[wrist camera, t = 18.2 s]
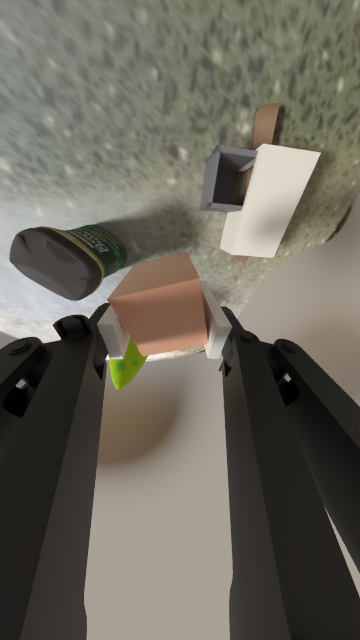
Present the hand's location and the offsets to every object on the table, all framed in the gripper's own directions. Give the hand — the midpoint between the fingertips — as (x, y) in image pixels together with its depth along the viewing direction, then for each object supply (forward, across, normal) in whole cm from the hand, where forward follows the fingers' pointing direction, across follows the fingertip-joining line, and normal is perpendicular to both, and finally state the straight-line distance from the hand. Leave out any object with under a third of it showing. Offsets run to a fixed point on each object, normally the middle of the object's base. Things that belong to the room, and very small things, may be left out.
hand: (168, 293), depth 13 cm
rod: (+25, +16, +10) cm, 32 cm away
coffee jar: (+25, -15, -1) cm, 29 cm away
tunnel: (+25, +14, +8) cm, 30 cm away
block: (0, 0, +1) cm, 1 cm away
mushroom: (+25, -8, -18) cm, 32 cm away
